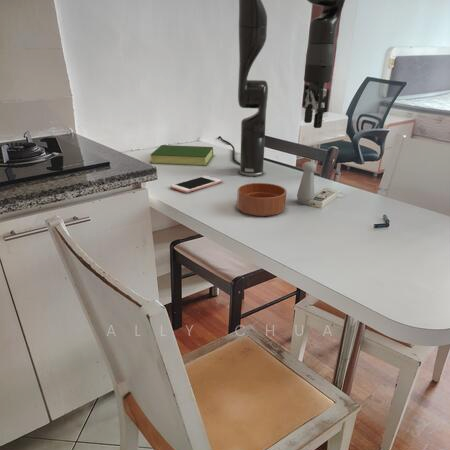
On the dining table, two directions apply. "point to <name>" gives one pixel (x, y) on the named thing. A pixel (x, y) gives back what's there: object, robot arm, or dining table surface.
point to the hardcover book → (182, 155)
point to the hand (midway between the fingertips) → (312, 125)
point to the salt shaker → (307, 184)
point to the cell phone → (195, 184)
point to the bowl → (261, 199)
